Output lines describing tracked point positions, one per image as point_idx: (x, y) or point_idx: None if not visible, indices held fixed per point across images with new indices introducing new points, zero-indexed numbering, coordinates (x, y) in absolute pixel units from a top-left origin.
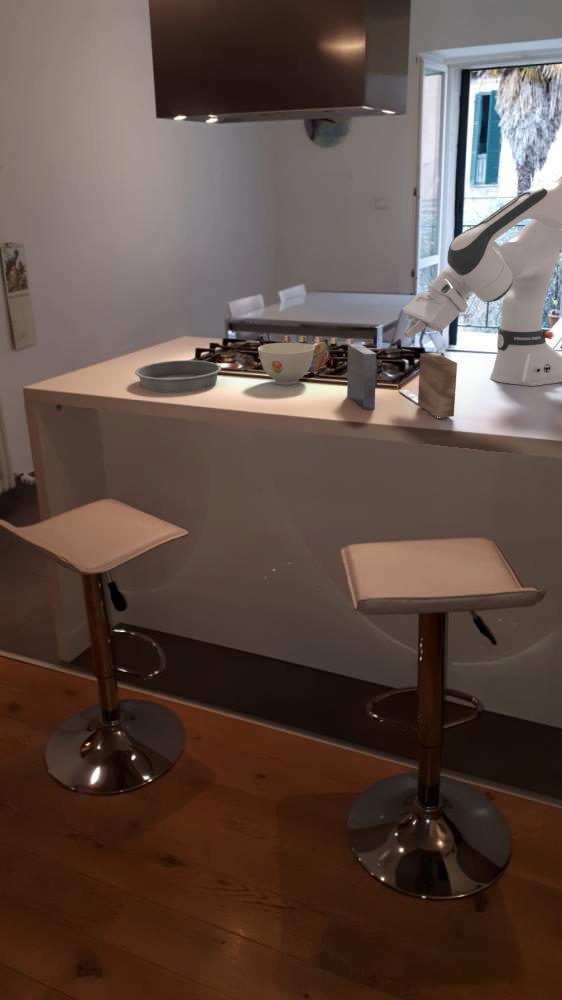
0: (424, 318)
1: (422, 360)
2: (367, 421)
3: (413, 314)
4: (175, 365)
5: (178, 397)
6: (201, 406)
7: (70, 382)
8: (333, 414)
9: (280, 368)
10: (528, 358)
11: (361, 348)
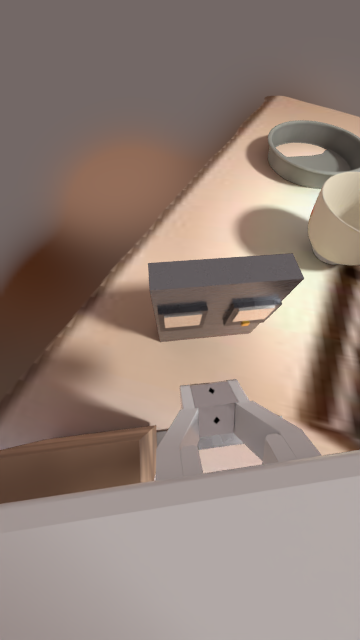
0: (35, 512)
1: (120, 440)
2: (93, 317)
3: (326, 463)
4: (357, 149)
5: (245, 161)
6: (207, 173)
7: (301, 109)
8: (144, 281)
9: (310, 217)
10: None
11: (226, 270)
